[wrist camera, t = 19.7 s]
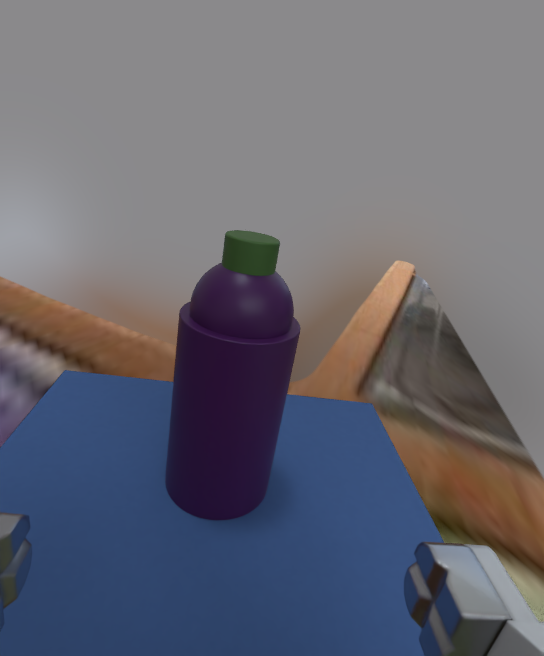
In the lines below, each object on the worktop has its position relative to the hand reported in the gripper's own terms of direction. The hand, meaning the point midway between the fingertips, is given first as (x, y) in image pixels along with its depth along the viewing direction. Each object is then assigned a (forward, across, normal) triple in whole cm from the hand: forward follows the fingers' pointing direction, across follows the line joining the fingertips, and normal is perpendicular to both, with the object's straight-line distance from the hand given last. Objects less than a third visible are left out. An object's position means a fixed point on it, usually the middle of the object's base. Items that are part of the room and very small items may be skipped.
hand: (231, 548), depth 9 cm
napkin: (+10, 0, +8) cm, 13 cm away
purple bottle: (+10, 0, +8) cm, 13 cm away
